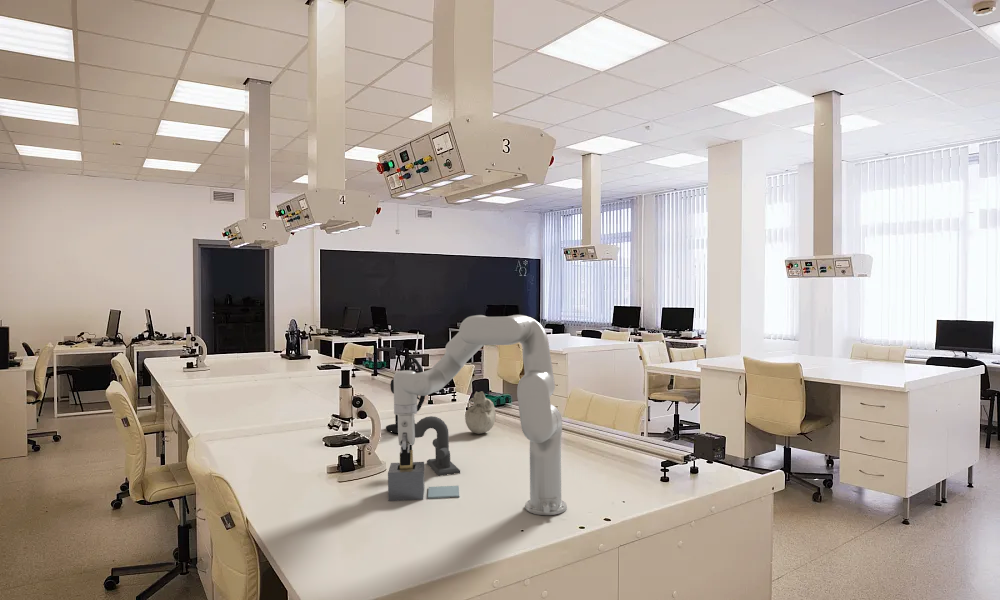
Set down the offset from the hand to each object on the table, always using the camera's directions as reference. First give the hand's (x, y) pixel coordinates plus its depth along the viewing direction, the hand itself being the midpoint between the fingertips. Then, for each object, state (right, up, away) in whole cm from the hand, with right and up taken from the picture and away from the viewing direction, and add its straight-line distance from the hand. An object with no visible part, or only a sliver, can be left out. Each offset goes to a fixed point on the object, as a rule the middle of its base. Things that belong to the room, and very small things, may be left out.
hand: (406, 460), depth 196 cm
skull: (+22, -10, +84) cm, 88 cm away
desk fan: (-14, -10, +92) cm, 94 cm away
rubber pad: (+12, -11, +1) cm, 16 cm away
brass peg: (0, -9, 0) cm, 9 cm away
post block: (0, -11, 0) cm, 11 cm away
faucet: (+6, -11, +28) cm, 30 cm away
